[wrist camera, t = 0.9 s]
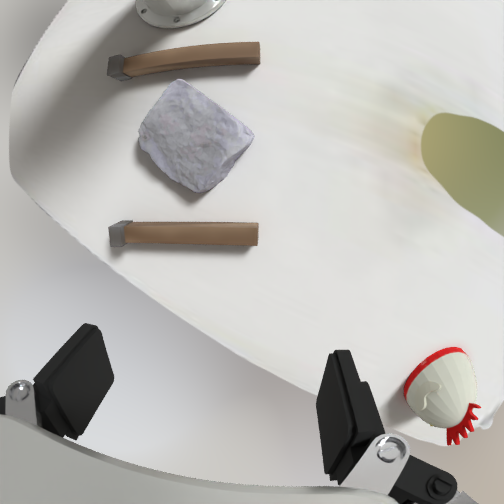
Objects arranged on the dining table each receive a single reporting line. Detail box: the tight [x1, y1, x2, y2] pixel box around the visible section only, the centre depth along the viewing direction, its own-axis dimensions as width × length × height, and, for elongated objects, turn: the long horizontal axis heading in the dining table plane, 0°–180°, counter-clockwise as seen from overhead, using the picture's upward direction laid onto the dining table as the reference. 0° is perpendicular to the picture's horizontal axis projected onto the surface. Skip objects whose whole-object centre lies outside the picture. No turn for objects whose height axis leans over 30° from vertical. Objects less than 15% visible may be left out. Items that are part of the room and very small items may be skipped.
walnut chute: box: [107, 42, 260, 247], centre depth 29 cm, size 23×18×4 cm
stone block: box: [138, 79, 254, 193], centre depth 30 cm, size 12×5×10 cm
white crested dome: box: [404, 347, 481, 445], centre depth 33 cm, size 14×14×15 cm
